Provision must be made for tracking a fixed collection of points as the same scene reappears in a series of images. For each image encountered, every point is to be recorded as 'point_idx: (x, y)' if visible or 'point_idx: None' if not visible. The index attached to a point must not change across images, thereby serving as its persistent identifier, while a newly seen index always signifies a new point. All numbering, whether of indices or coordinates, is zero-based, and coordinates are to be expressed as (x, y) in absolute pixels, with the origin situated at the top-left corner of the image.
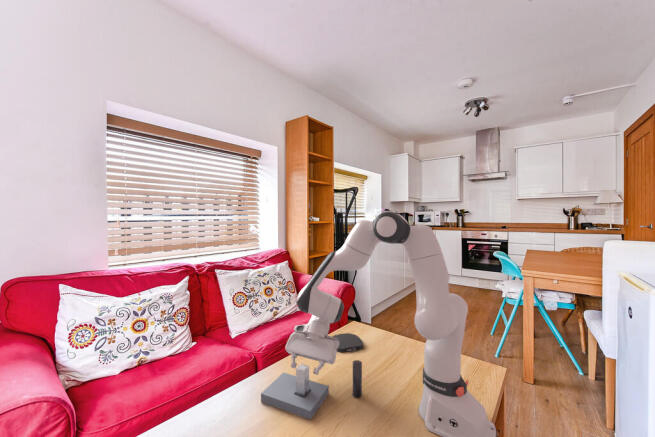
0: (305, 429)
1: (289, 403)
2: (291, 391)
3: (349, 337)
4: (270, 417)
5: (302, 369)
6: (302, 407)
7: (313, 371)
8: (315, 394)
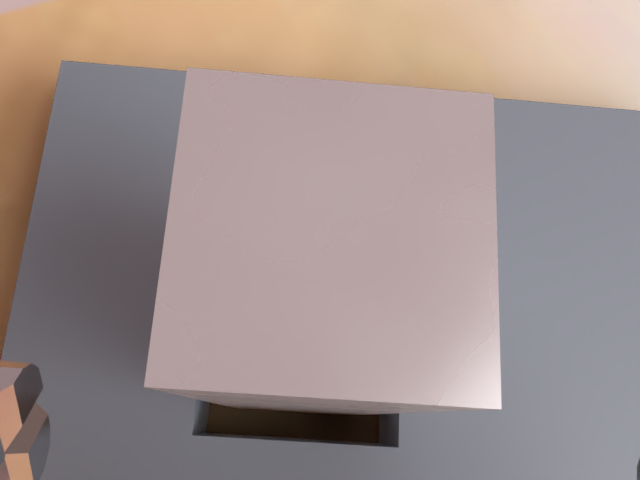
0: (101, 6)
1: None
2: None
3: None
4: (477, 27)
5: (281, 114)
6: (177, 79)
7: (12, 367)
8: (100, 356)
